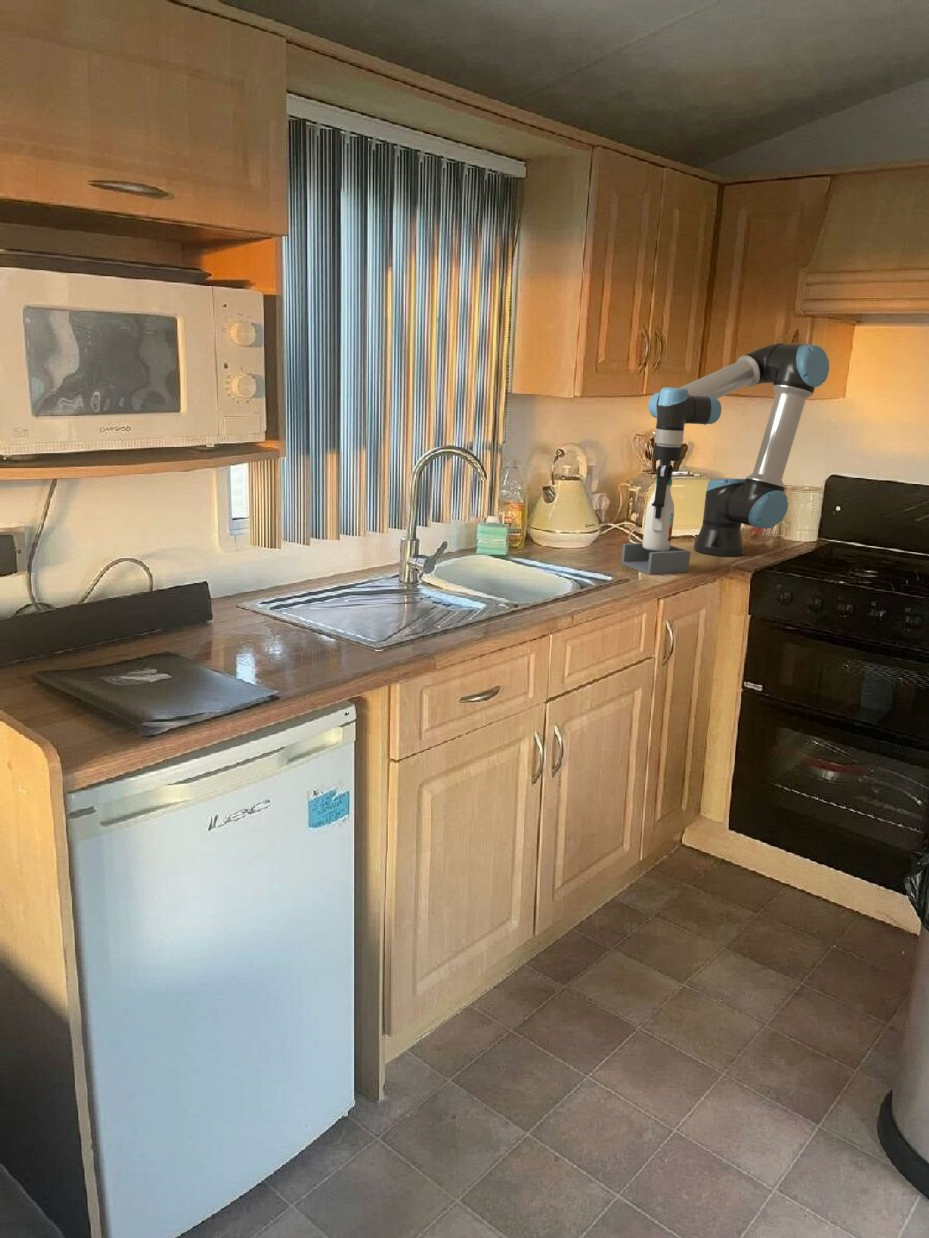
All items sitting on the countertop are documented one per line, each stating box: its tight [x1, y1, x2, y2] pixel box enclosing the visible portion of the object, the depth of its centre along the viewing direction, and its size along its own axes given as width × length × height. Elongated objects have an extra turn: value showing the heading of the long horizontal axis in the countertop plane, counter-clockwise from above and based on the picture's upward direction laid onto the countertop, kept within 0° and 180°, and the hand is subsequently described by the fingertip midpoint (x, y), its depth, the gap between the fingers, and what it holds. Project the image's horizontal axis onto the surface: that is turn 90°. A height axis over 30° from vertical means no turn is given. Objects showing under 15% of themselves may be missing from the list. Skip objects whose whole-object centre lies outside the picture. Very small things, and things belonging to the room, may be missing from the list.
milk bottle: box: [642, 477, 675, 551], centre depth 270 cm, size 8×8×20 cm
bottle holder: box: [620, 542, 691, 575], centre depth 273 cm, size 13×13×6 cm
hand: (658, 527), depth 271 cm, fingers closed on milk bottle, 7 cm apart
